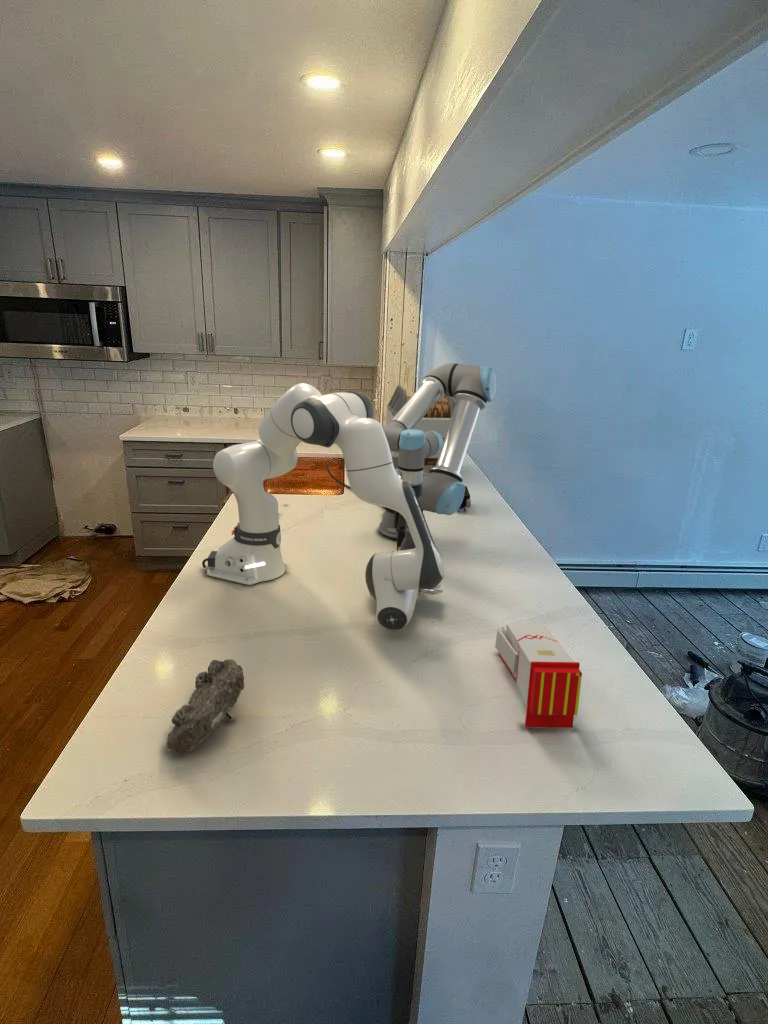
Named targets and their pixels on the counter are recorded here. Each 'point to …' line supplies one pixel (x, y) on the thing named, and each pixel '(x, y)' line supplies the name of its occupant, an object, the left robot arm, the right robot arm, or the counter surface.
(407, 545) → the bottle
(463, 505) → the figurine character
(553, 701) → the toy
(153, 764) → the counter surface
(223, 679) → the fossil
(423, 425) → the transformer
